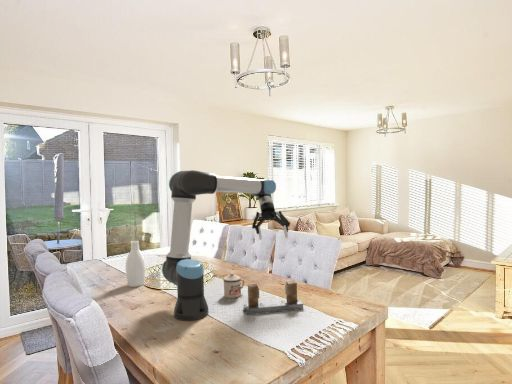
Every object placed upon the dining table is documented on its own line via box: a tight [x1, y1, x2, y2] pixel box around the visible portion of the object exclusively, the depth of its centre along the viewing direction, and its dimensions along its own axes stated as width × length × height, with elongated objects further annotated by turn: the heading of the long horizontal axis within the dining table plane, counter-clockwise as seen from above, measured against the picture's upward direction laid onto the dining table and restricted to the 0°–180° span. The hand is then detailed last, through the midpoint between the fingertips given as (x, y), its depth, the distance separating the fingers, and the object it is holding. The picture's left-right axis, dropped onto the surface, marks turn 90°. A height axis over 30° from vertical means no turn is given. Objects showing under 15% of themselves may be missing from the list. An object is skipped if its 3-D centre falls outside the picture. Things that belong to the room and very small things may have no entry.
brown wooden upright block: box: [284, 280, 298, 303], centre depth 157 cm, size 5×4×11 cm
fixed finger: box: [247, 283, 260, 306], centre depth 153 cm, size 5×4×11 cm
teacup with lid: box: [222, 272, 245, 299], centre depth 173 cm, size 12×9×12 cm
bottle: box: [125, 240, 147, 288], centre depth 195 cm, size 11×11×25 cm
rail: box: [243, 298, 304, 315], centre depth 153 cm, size 27×7×2 cm, turn 100°
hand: (273, 237), depth 170 cm, fingers open, 13 cm apart
